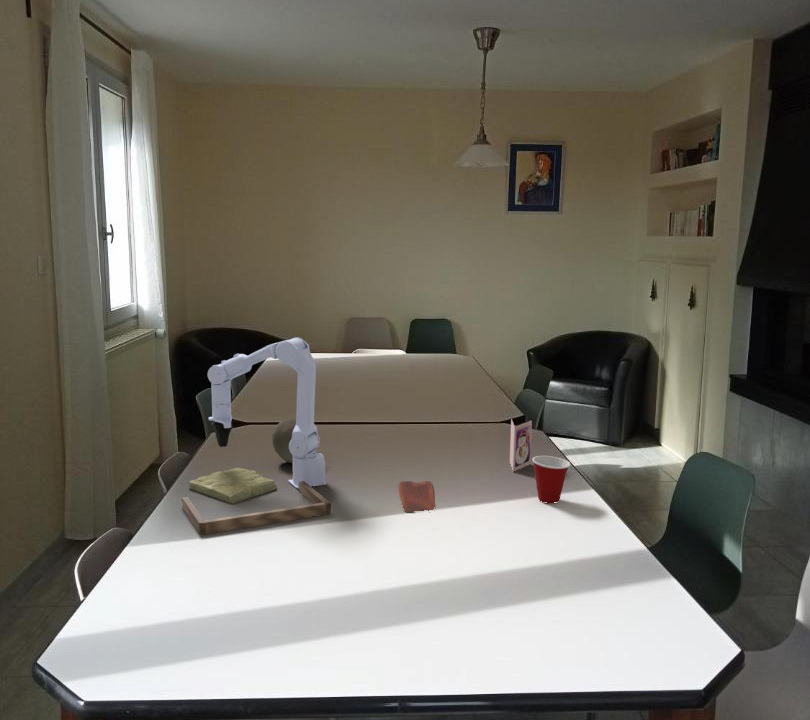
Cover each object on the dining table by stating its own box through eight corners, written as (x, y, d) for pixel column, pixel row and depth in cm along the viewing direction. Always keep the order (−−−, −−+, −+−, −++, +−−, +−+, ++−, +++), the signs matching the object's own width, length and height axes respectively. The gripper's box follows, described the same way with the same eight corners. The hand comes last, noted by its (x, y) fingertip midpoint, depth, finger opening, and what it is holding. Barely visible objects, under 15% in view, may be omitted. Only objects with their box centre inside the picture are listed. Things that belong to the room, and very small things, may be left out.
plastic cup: (569, 508, 216) (571, 466, 215) (529, 505, 219) (531, 464, 217) (569, 496, 227) (570, 456, 225) (531, 493, 229) (532, 453, 227)
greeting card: (515, 472, 249) (517, 427, 246) (495, 468, 253) (496, 423, 251) (532, 464, 258) (534, 420, 255) (512, 460, 262) (514, 417, 260)
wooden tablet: (398, 484, 238) (398, 479, 238) (431, 484, 238) (431, 479, 238) (399, 515, 212) (399, 509, 211) (436, 515, 212) (436, 509, 212)
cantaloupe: (319, 458, 263) (318, 414, 260) (310, 470, 249) (309, 424, 247) (278, 456, 264) (277, 413, 262) (266, 468, 250) (266, 423, 248)
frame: (303, 490, 229) (303, 480, 228) (330, 513, 210) (330, 503, 210) (182, 508, 213) (182, 497, 213) (200, 535, 194) (199, 523, 194)
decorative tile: (231, 505, 217) (230, 493, 217) (188, 490, 230) (187, 478, 229) (281, 489, 231) (281, 478, 231) (238, 475, 244) (238, 464, 244)
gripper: (203, 399, 244) (204, 441, 246) (214, 408, 231) (215, 453, 233) (225, 397, 247) (226, 439, 249) (237, 406, 234) (238, 450, 237)
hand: (222, 445), depth 242 cm, fingers closed
